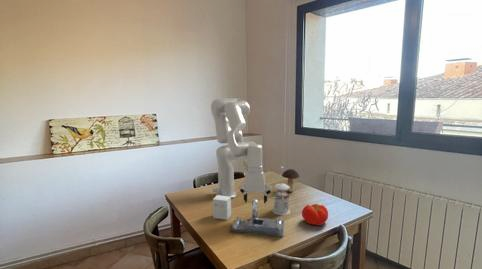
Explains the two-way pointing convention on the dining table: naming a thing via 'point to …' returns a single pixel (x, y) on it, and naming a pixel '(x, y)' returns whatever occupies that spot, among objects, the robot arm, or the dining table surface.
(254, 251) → the dining table surface
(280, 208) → the french press
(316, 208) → the tomato
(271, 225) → the plate with square hole
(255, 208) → the steel pin
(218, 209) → the small box
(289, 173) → the decorative mushroom
